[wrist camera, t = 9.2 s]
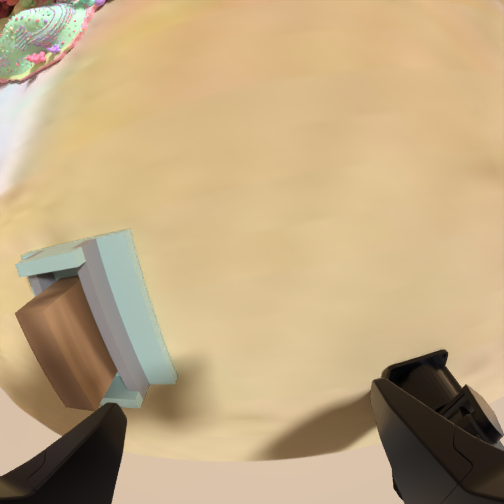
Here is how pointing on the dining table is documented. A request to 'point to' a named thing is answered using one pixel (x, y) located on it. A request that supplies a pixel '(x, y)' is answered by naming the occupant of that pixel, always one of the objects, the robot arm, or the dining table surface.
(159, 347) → the light blue tray
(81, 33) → the candy landscape model
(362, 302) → the dining table surface
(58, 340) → the brown wooden block
